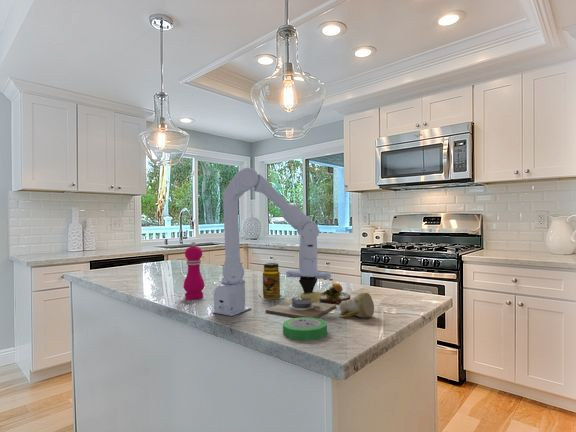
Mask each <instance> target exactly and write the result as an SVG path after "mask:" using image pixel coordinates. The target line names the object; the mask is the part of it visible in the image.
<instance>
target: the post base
mask: <svg viewBox="0 0 576 432" xmlns="http://www.w3.org/2000/svg"><path fill="white" fill-rule="evenodd" d="M335 308H337V305H336V304H334V303H333V304H328V303H327V302H315V303H311V306H310V307H304V308H299V307H294V306H292V298H291V299H289V300H287V301H286V300H285V301H284V302H281V303H279V304H277V305H274V306H272V307H269V308H268V309H265V313H267V314H273V315H278V316H283V317H291V318H300V317H311V318H318V319H319V318H320V317H321V316H323V315H324V314H326V313H328V312H331V311H333V310H334V309H335Z"/></svg>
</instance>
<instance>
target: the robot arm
mask: <svg viewBox="0 0 576 432" xmlns="http://www.w3.org/2000/svg"><path fill="white" fill-rule="evenodd" d="M253 188H254V189H253ZM252 189H253V192H256V193H260V194H263V195H264V196H265V197H266V198H268V199H269V201H270V202H272V203H273V204H274V205H275V206H276V207H277V208H278V209H279V210H280V212H281V213H280V214H281V215H280V216H281V217H282V218H283V219H284V220H285V221H286V223H288V224H289V225H290V226H291V227H292V228H293V229H294V230H295V231H296V232H297V234H298V236H299V245H298V246H299V252H298V253H299V256H298V257H299V263H298V264H299V265H298V266H299V267H298V268H299V270H286V271H285V273H286V275H285V277H286V278H299V280H298V282H299V285H301V289H302V290H303V293H309V292H314V289H315V286H316V284H317V282H318V280H319V279H320V280H322V279H323V280H331V279H332V272H328V271H327V272H326V271H319V270H318V236H319V235H320V231H321V230H320V229H319V226H318V224H317V223H316V222H314V221H311V216H310V215H307V214H306V213H304V211H302V209H301V206H300V205H299V204H296V203H293V202H288V201H287V200H286V199H285V198H284V197H283V196H282V195H281V194H280V193H279V191H278V190H277V189H275V188H274V187H273V185H272V184H271V183H270V182H269V181H268V180H267V179H266V178H264V177H263V176H262V175H261V174H260V173H259V174H258V172H257V171H256V170H255V169H254V168H252V167H244V168H243V167H242V169H240V170H239V171H238V172H236V173H235V174H234V176H233V177H232V178H231V180H230V181H229V183H228V185H227V186H226V187H225V189H224V191H223V194H222V200H223V201H222V202H223V228H224V230H223V231H224V233H223V234H224V251H225V252H224V253H225V254H224V256H225V258H224V259H225V260H224V263H223V264H222V265H223V266H222V276H223V278H221V282H220V284H219V285H218V286H216V287H215V289H214V292H213V301H214V302H213V310H211V312H212V313H214V314H218V315H225V316H230V317H234V316H236V315H238V314H241V313H244V312H246V311H249V310H251V309H252V307H251V306H246V280H245V278H244V276H245V268H244V267H243V264H242V261H241V252H240V250H241V249H240V227H239V226H240V223H239V202H238V201H239V199H240V198H241V197H242V196H243V195H244V194H245V193H246V192H248V191H250V190H252Z"/></svg>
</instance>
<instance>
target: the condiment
mask: <svg viewBox="0 0 576 432" xmlns="http://www.w3.org/2000/svg"><path fill="white" fill-rule="evenodd" d="M279 269H280V268H279V264H278V263H277V262H269V263H268V262H267V263H263V272H262V294H259V296H260V297H261V299H262V300H264V301H267V300H278V299H285V297H283V296H282V294H281V277H280V274H281V273H280V272H281V271H279Z"/></svg>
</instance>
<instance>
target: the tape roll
mask: <svg viewBox="0 0 576 432" xmlns="http://www.w3.org/2000/svg"><path fill="white" fill-rule="evenodd" d="M282 333H283V336H285V337H286V338H289V339H292V340H297V341H314V340H319V339H322V338H325V337H326V336H327V335H328V324H327V322H326V320H324V319H322V318H319V317H318V318H311V317H300V318H295V317H292V318H290V319H287V320H285V321H284V322H283V323H282Z"/></svg>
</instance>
